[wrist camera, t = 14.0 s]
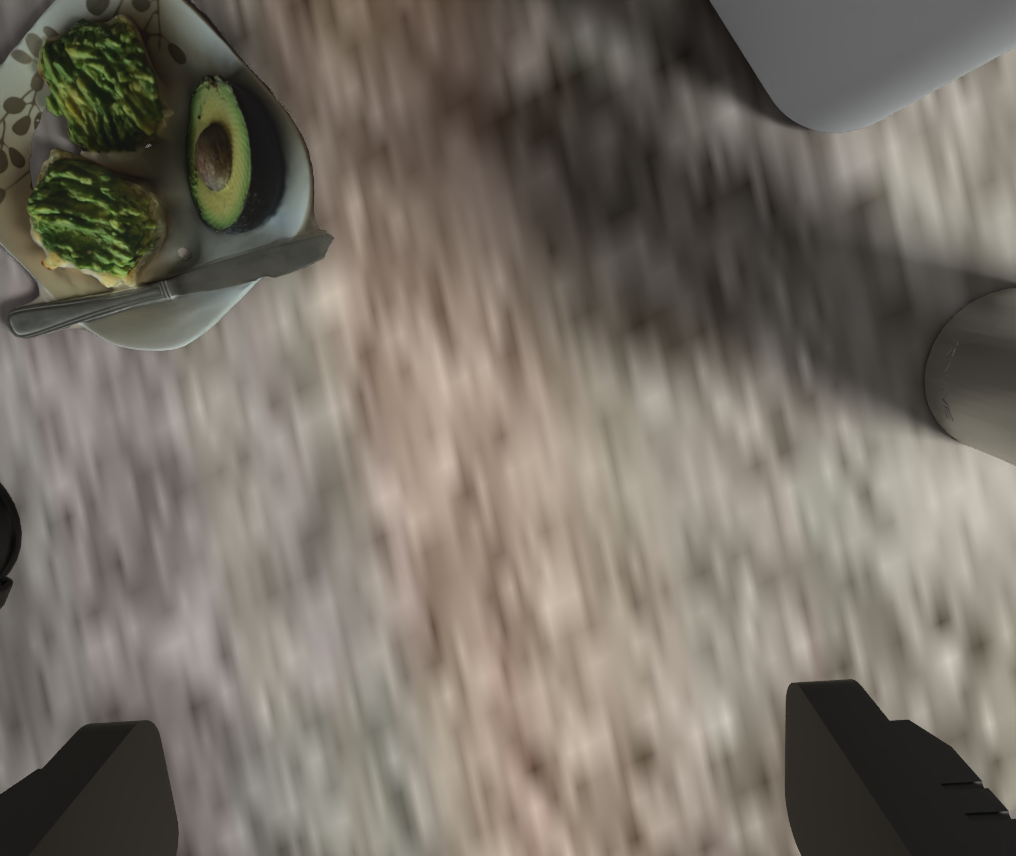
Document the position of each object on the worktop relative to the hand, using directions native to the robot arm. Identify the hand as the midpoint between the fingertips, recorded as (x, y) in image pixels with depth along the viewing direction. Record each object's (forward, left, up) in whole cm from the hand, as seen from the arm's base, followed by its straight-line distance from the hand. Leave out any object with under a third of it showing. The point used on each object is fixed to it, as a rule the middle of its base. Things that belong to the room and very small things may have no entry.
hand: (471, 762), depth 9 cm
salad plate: (+18, -12, -34) cm, 40 cm away
